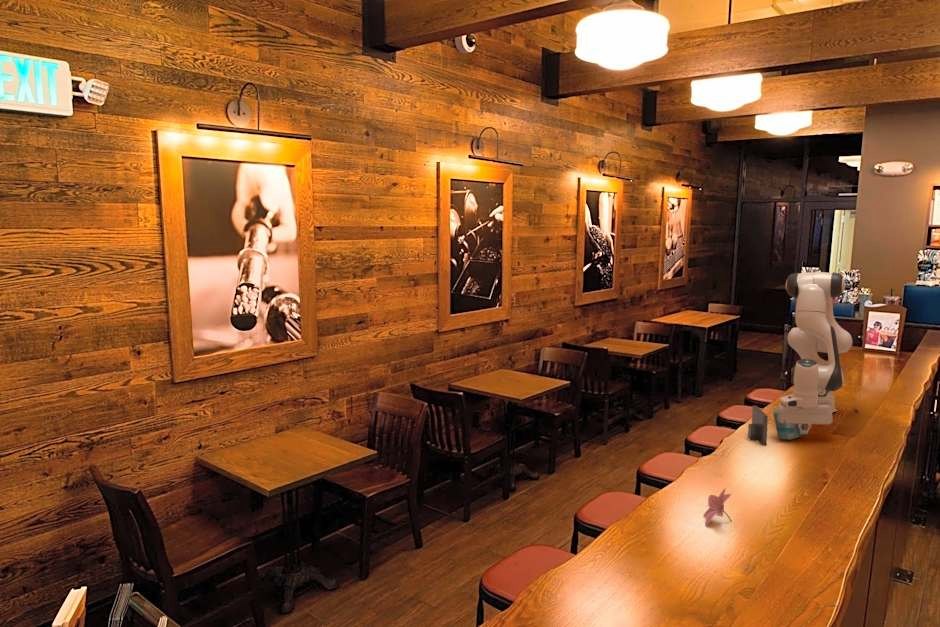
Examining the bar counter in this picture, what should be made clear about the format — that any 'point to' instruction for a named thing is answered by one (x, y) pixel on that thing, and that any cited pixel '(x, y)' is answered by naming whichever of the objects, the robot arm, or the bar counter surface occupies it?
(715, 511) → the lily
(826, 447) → the bar counter surface
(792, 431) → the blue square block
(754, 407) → the bookend
